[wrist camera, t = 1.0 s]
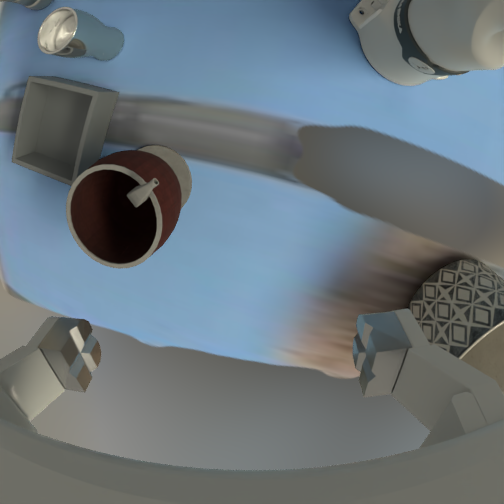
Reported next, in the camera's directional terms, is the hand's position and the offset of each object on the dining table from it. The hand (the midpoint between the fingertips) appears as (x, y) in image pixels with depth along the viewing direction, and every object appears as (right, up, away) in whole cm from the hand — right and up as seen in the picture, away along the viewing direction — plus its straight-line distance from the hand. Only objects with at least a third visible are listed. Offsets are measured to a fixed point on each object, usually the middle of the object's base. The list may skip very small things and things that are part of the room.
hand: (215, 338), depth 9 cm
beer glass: (-22, +36, +29) cm, 51 cm away
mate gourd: (-14, +14, +40) cm, 44 cm away
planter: (+43, -8, +49) cm, 66 cm away
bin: (-30, +24, +35) cm, 52 cm away
